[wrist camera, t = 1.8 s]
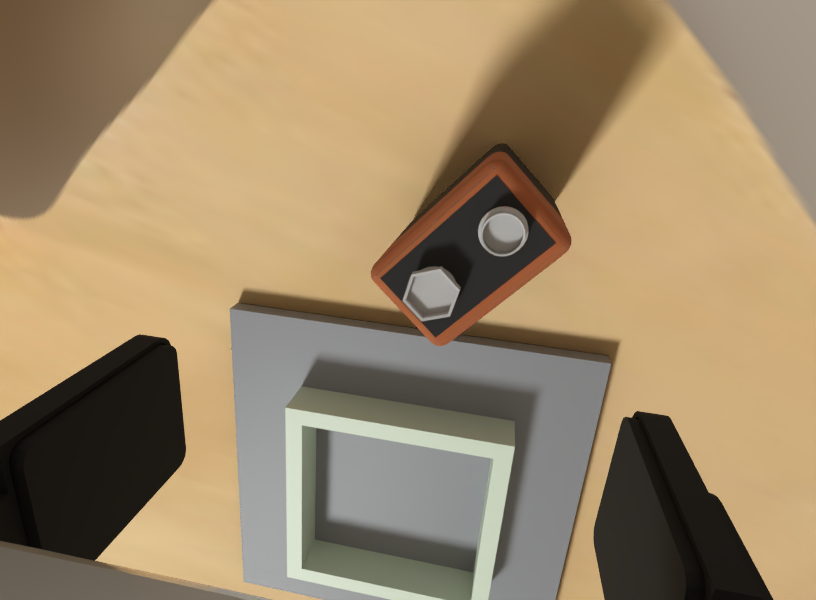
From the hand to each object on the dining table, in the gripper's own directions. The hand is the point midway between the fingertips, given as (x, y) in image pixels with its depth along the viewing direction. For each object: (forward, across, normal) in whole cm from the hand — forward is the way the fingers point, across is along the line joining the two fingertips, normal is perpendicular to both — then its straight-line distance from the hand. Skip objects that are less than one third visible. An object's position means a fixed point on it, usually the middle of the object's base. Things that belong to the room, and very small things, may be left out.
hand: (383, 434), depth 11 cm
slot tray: (+19, +2, +17) cm, 26 cm away
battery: (+19, -1, -1) cm, 19 cm away
